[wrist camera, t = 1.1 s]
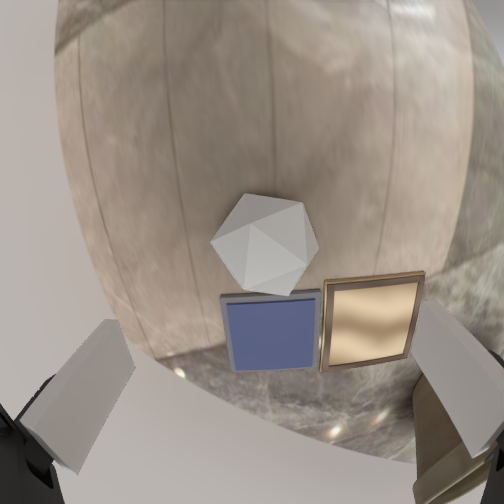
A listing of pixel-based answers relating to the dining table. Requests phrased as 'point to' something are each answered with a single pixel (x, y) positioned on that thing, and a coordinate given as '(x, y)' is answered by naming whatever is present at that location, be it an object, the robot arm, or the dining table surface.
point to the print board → (369, 319)
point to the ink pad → (272, 330)
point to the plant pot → (442, 452)
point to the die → (266, 243)
